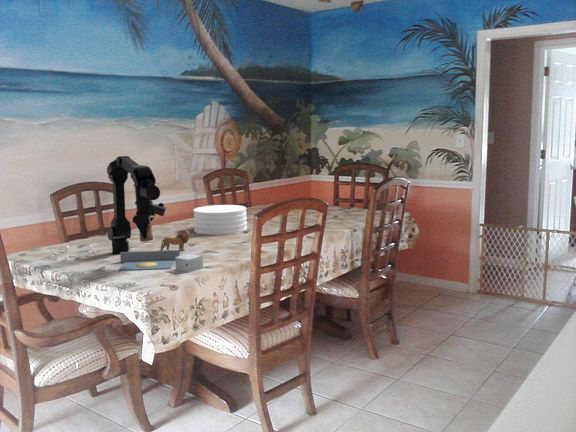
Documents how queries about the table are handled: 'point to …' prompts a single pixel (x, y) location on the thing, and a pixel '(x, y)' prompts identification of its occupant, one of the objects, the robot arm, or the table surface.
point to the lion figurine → (176, 240)
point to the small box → (189, 262)
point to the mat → (146, 265)
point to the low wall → (149, 255)
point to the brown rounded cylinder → (149, 234)
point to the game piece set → (69, 249)
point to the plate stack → (220, 219)
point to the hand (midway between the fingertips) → (146, 237)
